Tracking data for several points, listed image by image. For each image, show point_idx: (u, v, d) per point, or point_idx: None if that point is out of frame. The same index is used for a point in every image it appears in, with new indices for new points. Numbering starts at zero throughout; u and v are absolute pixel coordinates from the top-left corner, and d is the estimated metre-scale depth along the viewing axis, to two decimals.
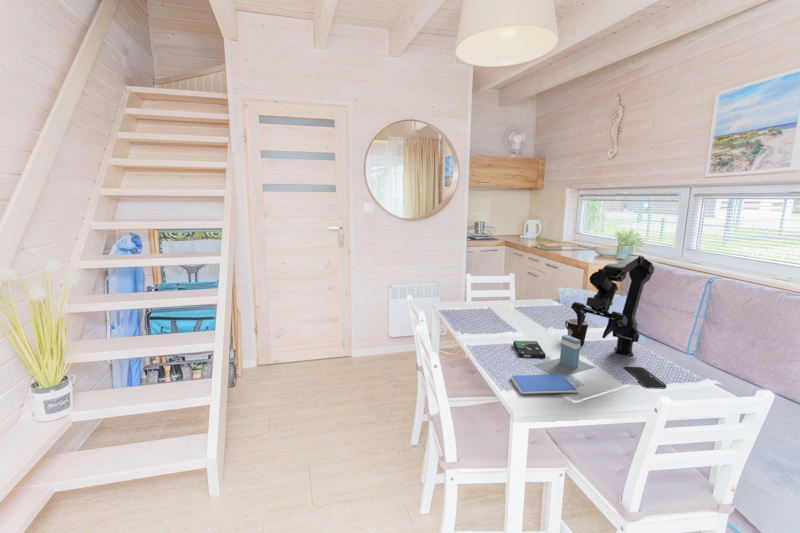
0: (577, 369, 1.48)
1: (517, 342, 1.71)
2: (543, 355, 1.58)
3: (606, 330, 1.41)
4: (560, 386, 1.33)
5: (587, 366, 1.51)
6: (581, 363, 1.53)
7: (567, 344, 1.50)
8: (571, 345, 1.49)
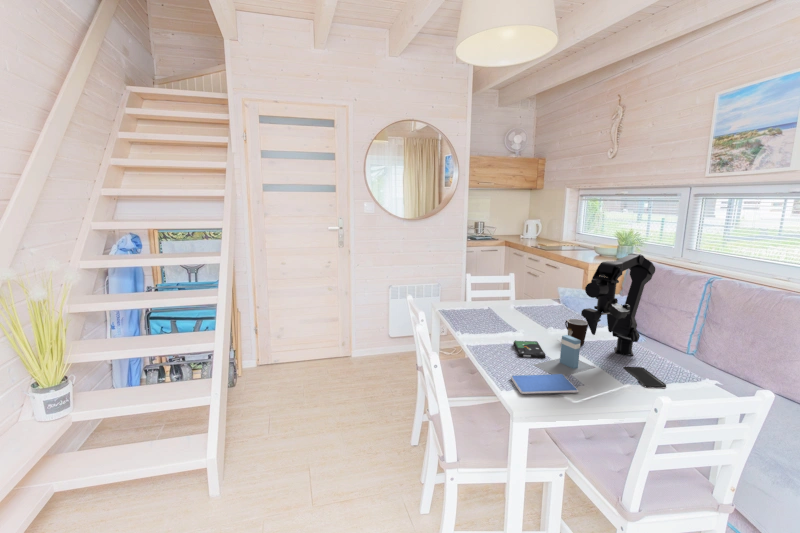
0: (577, 369, 1.48)
1: (517, 342, 1.71)
2: (543, 355, 1.58)
3: (614, 326, 1.55)
4: (560, 386, 1.33)
5: (587, 366, 1.51)
6: (581, 363, 1.53)
7: (567, 344, 1.50)
8: (571, 345, 1.49)
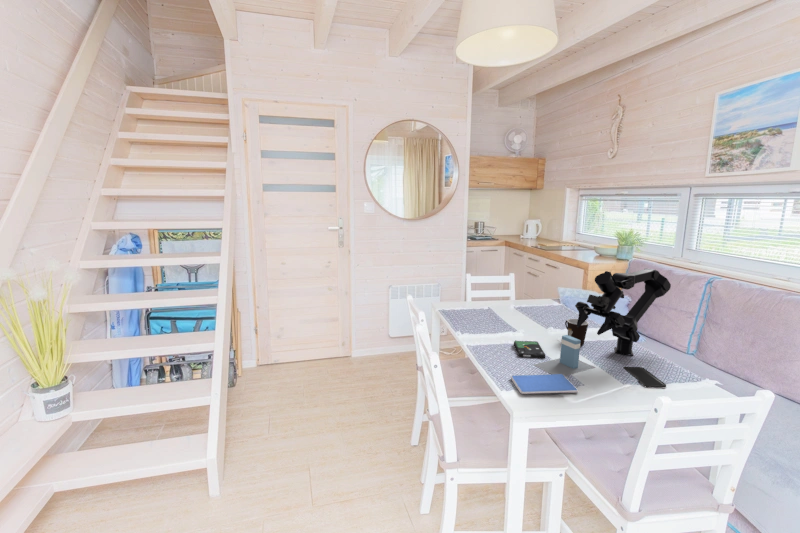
0: (577, 369, 1.48)
1: (517, 342, 1.71)
2: (543, 355, 1.58)
3: (601, 327, 1.49)
4: (560, 386, 1.33)
5: (587, 366, 1.51)
6: (581, 363, 1.53)
7: (567, 344, 1.50)
8: (571, 345, 1.49)
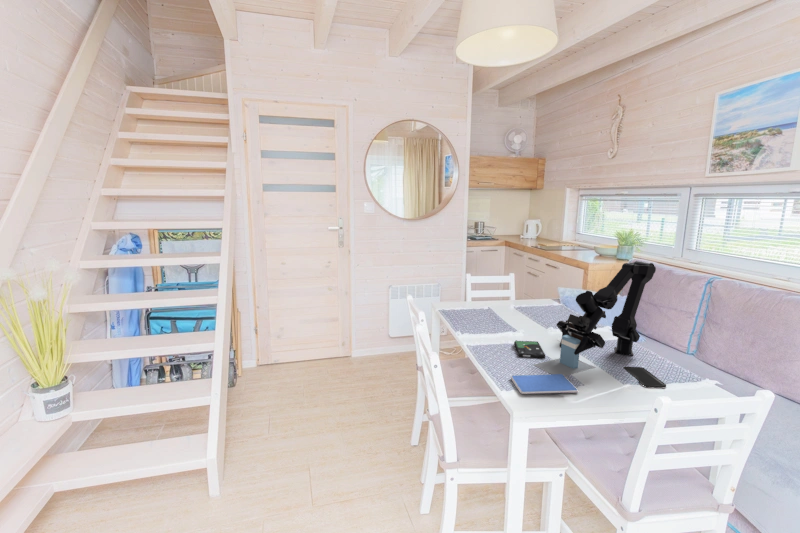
0: (577, 369, 1.48)
1: (518, 342, 1.71)
2: (543, 355, 1.58)
3: (579, 347, 1.47)
4: (560, 386, 1.33)
5: (587, 366, 1.51)
6: (581, 363, 1.53)
7: (567, 344, 1.50)
8: (571, 345, 1.49)
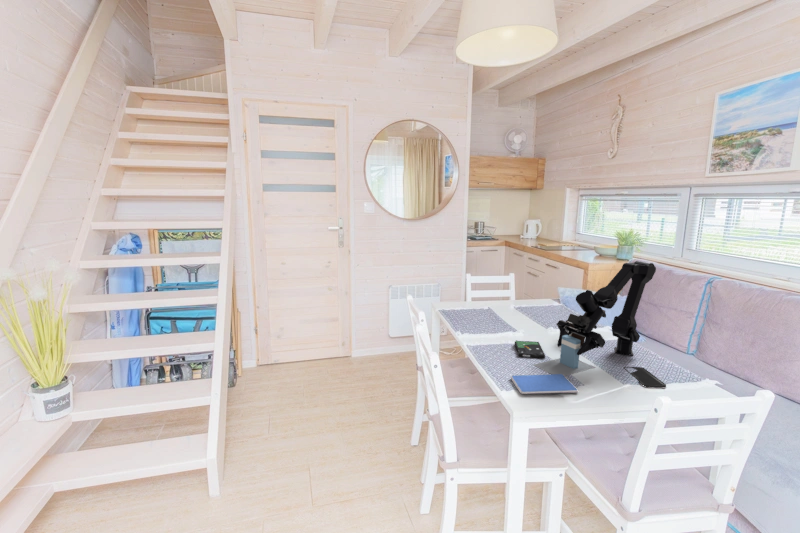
0: (577, 369, 1.48)
1: (518, 342, 1.71)
2: (542, 355, 1.58)
3: (581, 347, 1.46)
4: (560, 386, 1.33)
5: (587, 366, 1.51)
6: (581, 363, 1.53)
7: (567, 344, 1.50)
8: (571, 345, 1.49)
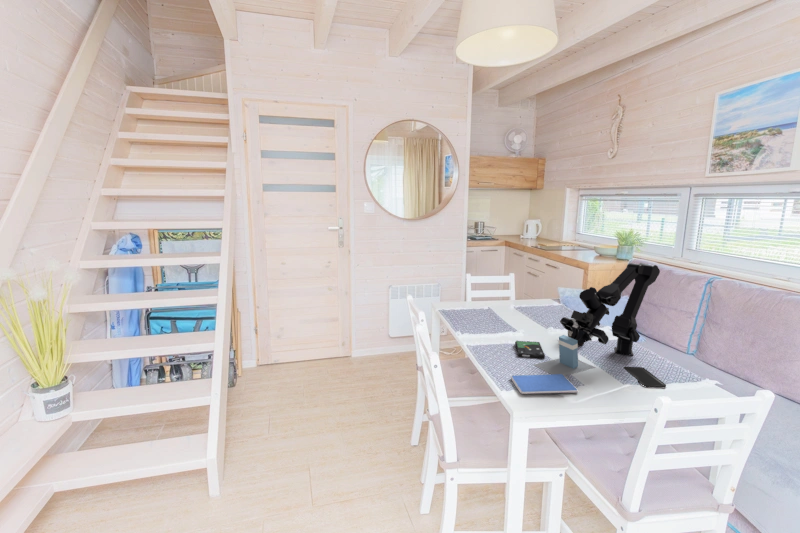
0: (577, 369, 1.48)
1: (519, 342, 1.71)
2: (542, 355, 1.57)
3: None
4: (560, 386, 1.33)
5: (587, 366, 1.51)
6: (581, 363, 1.53)
7: (565, 345, 1.50)
8: (568, 346, 1.48)
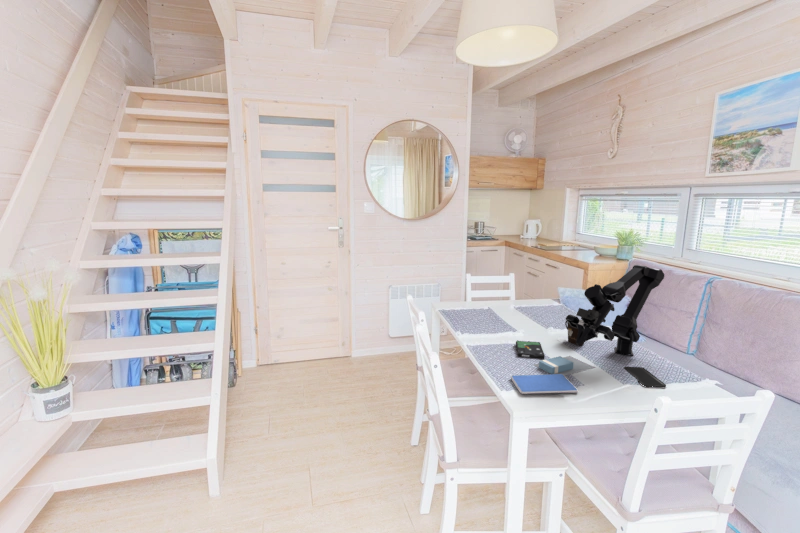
0: (577, 369, 1.48)
1: (519, 342, 1.71)
2: (542, 356, 1.57)
3: (581, 337, 1.52)
4: (560, 386, 1.33)
5: (587, 366, 1.51)
6: (581, 363, 1.53)
7: None
8: None
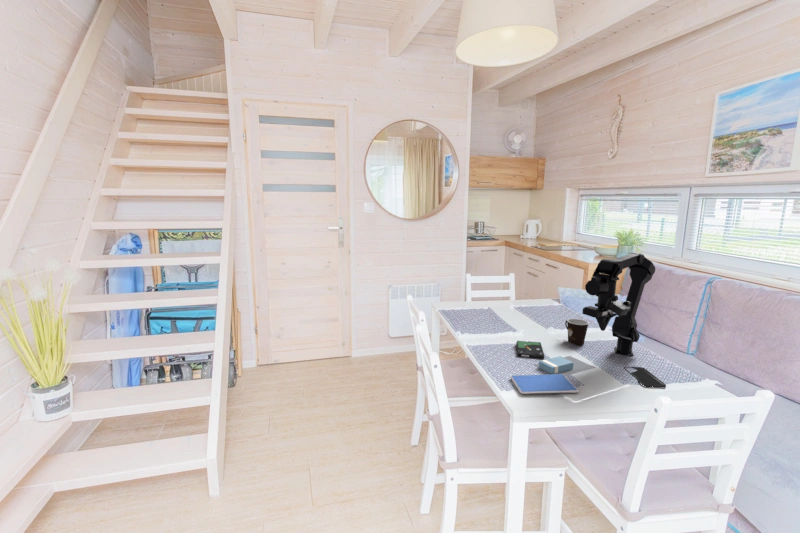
0: (577, 369, 1.48)
1: (519, 342, 1.71)
2: (542, 356, 1.57)
3: (607, 324, 1.54)
4: (560, 386, 1.33)
5: (587, 366, 1.51)
6: (581, 363, 1.53)
7: None
8: None
